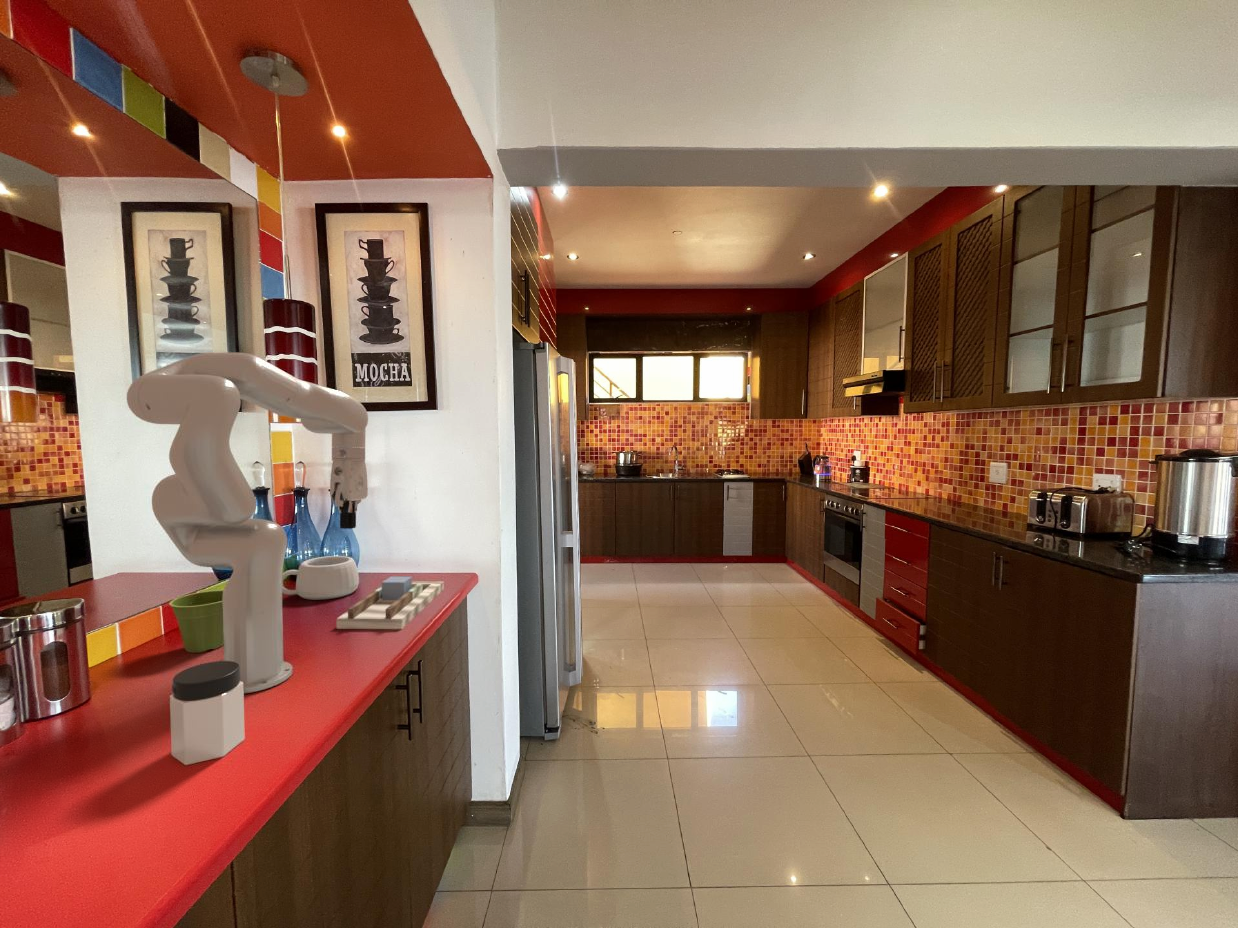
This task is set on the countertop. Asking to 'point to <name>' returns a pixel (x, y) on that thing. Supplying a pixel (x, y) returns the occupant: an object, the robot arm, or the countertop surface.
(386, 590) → the slate block
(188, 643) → the plant pot
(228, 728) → the jar
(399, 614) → the tunnel board
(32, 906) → the countertop surface
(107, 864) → the countertop surface
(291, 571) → the mug
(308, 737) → the countertop surface
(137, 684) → the countertop surface
